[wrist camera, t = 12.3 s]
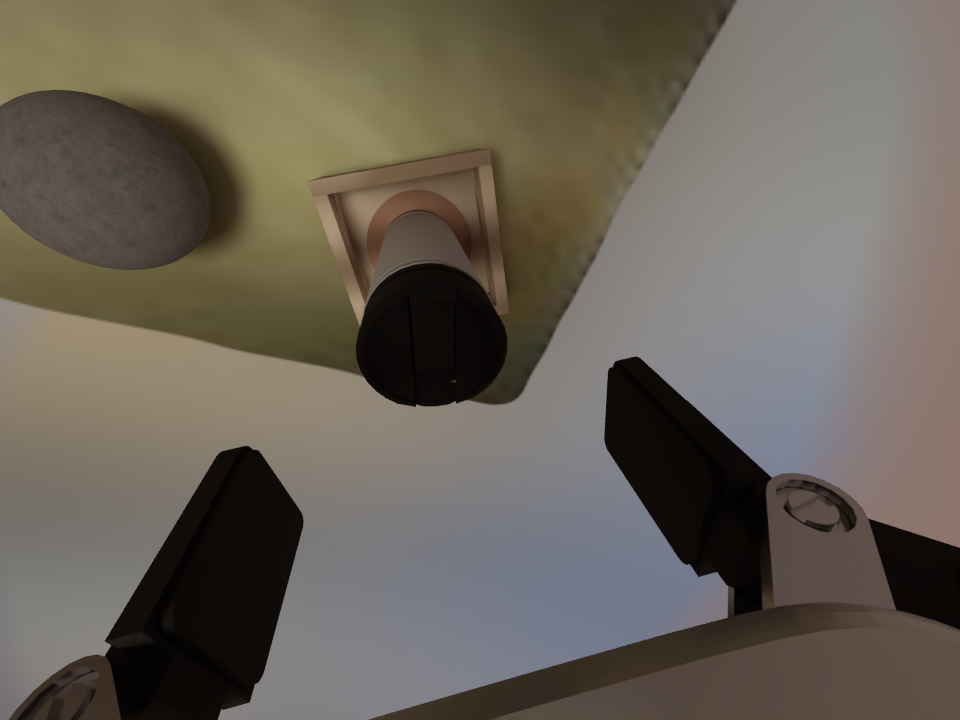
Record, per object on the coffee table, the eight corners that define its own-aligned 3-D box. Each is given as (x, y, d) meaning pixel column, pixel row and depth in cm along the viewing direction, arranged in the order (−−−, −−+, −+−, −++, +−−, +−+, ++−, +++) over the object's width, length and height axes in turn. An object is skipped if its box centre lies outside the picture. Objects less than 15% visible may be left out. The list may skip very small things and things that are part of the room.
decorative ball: (55, 192, 26) (-115, 211, 18) (101, 62, 23) (-75, 11, 15) (203, 274, 31) (125, 321, 22) (257, 173, 28) (191, 183, 19)
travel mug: (456, 204, 30) (519, 274, 13) (456, 281, 33) (507, 417, 16) (379, 204, 29) (337, 278, 12) (387, 283, 32) (364, 430, 15)
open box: (320, 177, 28) (307, 181, 25) (479, 148, 29) (489, 148, 26) (370, 323, 35) (366, 343, 31) (498, 296, 36) (509, 313, 32)
